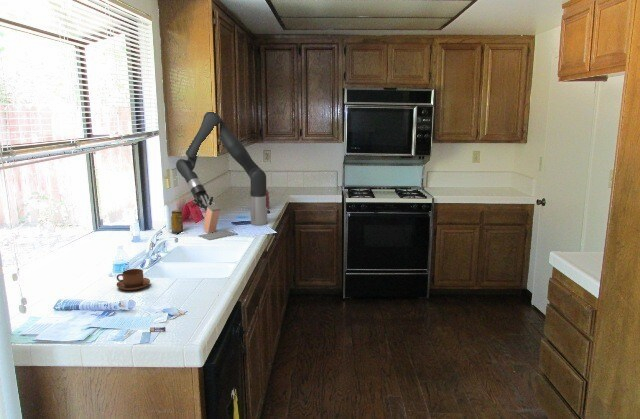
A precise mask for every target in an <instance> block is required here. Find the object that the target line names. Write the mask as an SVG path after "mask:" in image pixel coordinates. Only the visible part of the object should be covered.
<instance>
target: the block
mask: <svg viewBox="0 0 640 419" xmlns="http://www.w3.org/2000/svg"><path fill="white" fill-rule="evenodd" d="M220 211H221V207H219V206H218V205H217V204H211V205H208V206H207V211H205V217H204V223H203V228H202V229H203V230H204V231H205V232H206V234H208V233H212V232H213V233H214V232H217V226H218V222H219V218H220V213H221V212H220Z"/></svg>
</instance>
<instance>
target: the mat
mask: <svg viewBox="0 0 640 419" xmlns="http://www.w3.org/2000/svg"><path fill="white" fill-rule="evenodd" d="M235 233H236V234H237V235H238V233H237V232H233V231H230V230H227V229H224V230H220V231H219V230H218V231H216V232H213V233H205V234H199V235H197V237H198V236H199V238H201V237H202V239H205V240H207V241H208V240H209V241H212V240H218V239H222V238H227V236H228V237H231V235H232V236H235V235H234V234H235Z"/></svg>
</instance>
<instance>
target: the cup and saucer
mask: <svg viewBox="0 0 640 419" xmlns="http://www.w3.org/2000/svg"><path fill="white" fill-rule="evenodd" d="M120 276H122V279H120V278H119V277H120ZM116 281H117V282H116V287H117V288H118V289H120V290H124V291H136V290H141V289H144V288H145V287H148V286H149V285H150V283H151V280H150V279H149V278H148V277H144V270H143V269H141V268H131V269H126V270H123V272H122V273H118V274H117V276H116Z"/></svg>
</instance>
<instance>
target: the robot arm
mask: <svg viewBox="0 0 640 419" xmlns="http://www.w3.org/2000/svg"><path fill="white" fill-rule="evenodd" d="M217 113H218V112H217ZM217 113H214V112H208V111H207V112H206V113H205V114H204V115H203V117H202V122H201V124H200V126H199V128H198V131H197V133H196V134H195V136H194V138H193V139H194V140H193V139H192V140H191V142H192V143H191V142H190V144H191V145H190V144H189V146H188V147H189V148H188V147H187V149H188V150H187V149H186V151H185V155H186V157H187V159H184V158H180V159H178V160H177V161H176V163H175V164H176V165H175V168H176V170H177V172H178V173H179V174H180V176H181V177H183V178H184V179H185V183H186V184H187V186H188V189H189V190H190V192H191V195H192V196H193V198H194V199H193V201H192V203H193V204H194V205H195V206H197V207H199V209H200V208H201V209H204V210H205V212H206V211H207V206H208V205H213V204H212V203H213V201H214V196H210V195H208V193H207V190H206V188H205V186H204V185H203V183H202V181H201V179H200V178H199V176H198V174H197V173H196V172H195V171H194V169H195V167H196V163H197V159H198V157H199V155H198V156H196V155H197V152H198V150H199V147H200V145H201V143H202V142H203V141H204V140H205V139H206V137H207V136H208V135H209V134H210V135H211V134H212V132H213V131H214V130H213V128H214V126H217V125H218V124H219V123H220V137H221V140H220V141H221V143H222V145H223V146H224V148H225V150H226V151H227V153H228V154H229V155H230V156H231V157H232V158H233V159H234V161H236V163H238V164H239V165H240V166H241V167H242V169H243V170H244V171H245V173H246V175H247V176H248V177H249V179H250V190H249V191H250V192H249V193H250V198H249V199H250V224H251V225H252V226H263V225H266V224H268V209H267V208H266V187H267V175H266V172H265V171H264V170H263V169H262V168H261V167H259V165H258V164H257V163H256V162H255V161H254V160H253V159H252V157H251V155H250V154H249V152H248V150H247V149H246V147H245V146H244V144H243V143H242V142H241V140H239V138H238V137H237V136H236V135H235V134H234V133H233V132H232V131H231V130H230V128H228V126H227V125H226V124H225V122H224V120H223V119H222V117H221V115H220V114H219V113H218V114H219V115H220V116H219V115H218V114H217ZM220 117H221V118H220ZM212 130H213V131H212ZM211 131H212V132H211ZM210 135H209V136H210ZM209 136H208V137H209Z"/></svg>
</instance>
